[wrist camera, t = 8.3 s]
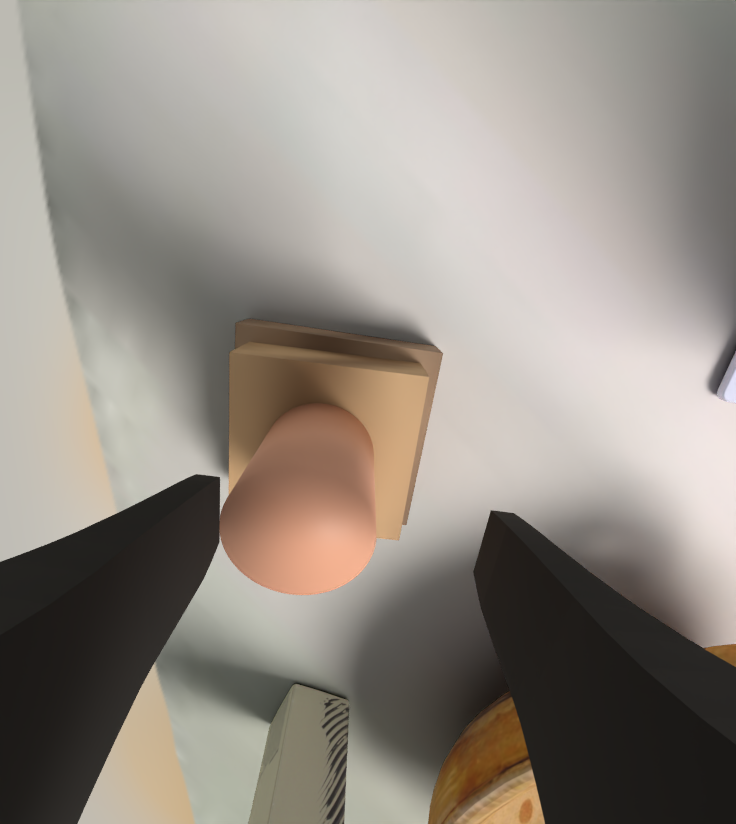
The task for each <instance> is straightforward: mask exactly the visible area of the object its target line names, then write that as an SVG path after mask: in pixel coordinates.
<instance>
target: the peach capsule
mask: <svg viewBox="0 0 736 824" xmlns="http://www.w3.org/2000/svg"><path fill="white" fill-rule="evenodd" d="M219 529H220V537H221V541H222V544H223V547H224V549H225V551H226V553H227V555H228V557H229V558H230V560H231V561H232V563H233V564H234V565H235V566H236V567H237V568H238V569H239V570H240V571H241V572H242V573H243V574H244V575H245V576H247V577H248V578H250V579H251V580H252V581H254V582H256V583H258V584H260V585H261V586H264V587H266V588H268V589H271V590H274V591H278V592H281V593H287V594H295V595H311V594H319V593H324V592H328V591H331V590H334V589H336V588H339V587H341V586H343V585H345V584H346V583H348V582H350V581H351V580H352V579H354V578H355V577H356V576H357V575H358V574H359V573H360V572H361V571H362V570H363V569H364V568H365V567H366V565H367V564H368V562H369V560H370V558H371V556H372V554H373V552H374V548H375V544H376V505H375V477H374V450H373V444H372V441H371V438H370V435H369V433H368V431H367V430H366V428H365V427H364V425H363V424H362V423H361V422H360V421H359V420H358V419H357V418H356V417H355V416H354V415H352V414H351V413H349V412H348V411H346V410H344V409H342V408H339V407H337V406H334V405H329V404H323V403H311V404H304V405H301V406H297V407H295V408H293V409H291V410H289V411H287V412H285V413H284V414H283V415H282V416H280V417H279V418H278V419H277V420H276V421H275V423H274V424H273V426H272V427H271V429H270V430H269V432H268V433H267V435H266V437H265V438H264V440H263V441H262V443H261V445H260V446H259V448H258V449H257V451H256V453H255V454H254V456H253V457H252V459H251V461H250V462H249V464H248V465H247V467H246V469H245V470H244V472H243V473H242V475H241V477H240V478H239V480H238V482H237V483H236V485H235V486H234V488H233V490H232V491H231V493H230V494H229V496H228V498H227V499H226V501H225V503H224V505H223V508H222V511H221V515H220V525H219Z"/></svg>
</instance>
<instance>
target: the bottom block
mask: <svg viewBox="0 0 736 824" xmlns="http://www.w3.org/2000/svg"><path fill="white" fill-rule="evenodd" d="M248 342H256V343H264V344H272V345H280V346H288V347H296V348H304V349H312V350H320V351H328V352H336V353H344V354H351V355H359V356H367V357H375V358H383V359H391V360H399V361H407V362H415V363H421V365H422V366H423V368H424V369H425V371H426V373H427V374H428V376H429V382H428V387H427V392H426V398H425V403H424V408H423V414H422V419H421V425H420V430H419V435H418V441H417V446H416V452H415V457H414V462H413V468H412V473H411V478H410V484H409V489H408V495H407V500H406V505H405V511H404V516H403V522H402V525H406V524H407V519H408V515H409V510H410V505H411V501H412V496H413V491H414V487H415V482H416V477H417V473H418V468H419V463H420V459H421V454H422V449H423V445H424V440H425V435H426V431H427V426H428V421H429V417H430V412H431V407H432V403H433V398H434V393H435V388H436V384H437V379H438V374H439V370H440V365H441V360H442V356H443V353H442V352H441V351H440V350H439V349H438V348H437V347H436V346H432V345H425V344H418V343H411V342H405V341H398V340H391V339H384V338H378V337H371V336H364V335H357V334H351V333H344V332H337V331H330V330H323V329H317V328H310V327H303V326H296V325H290V324H283V323H276V322H269V321H263V320H256V319H246V320H243V321H240V322H237V323H236V328H235V349H236V348H238V347H240V346H242V345H244V344H246V343H248Z"/></svg>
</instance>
